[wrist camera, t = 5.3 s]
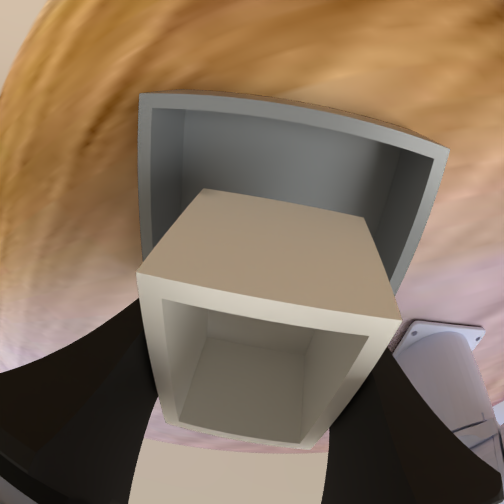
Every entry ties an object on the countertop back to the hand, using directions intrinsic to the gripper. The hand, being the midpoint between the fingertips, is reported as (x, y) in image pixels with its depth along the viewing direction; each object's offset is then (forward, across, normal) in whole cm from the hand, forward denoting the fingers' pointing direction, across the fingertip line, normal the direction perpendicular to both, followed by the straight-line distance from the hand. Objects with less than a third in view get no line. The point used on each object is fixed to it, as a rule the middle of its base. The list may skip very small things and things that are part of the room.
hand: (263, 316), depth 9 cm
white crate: (+1, 0, 0) cm, 1 cm away
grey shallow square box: (+8, 0, 0) cm, 8 cm away
